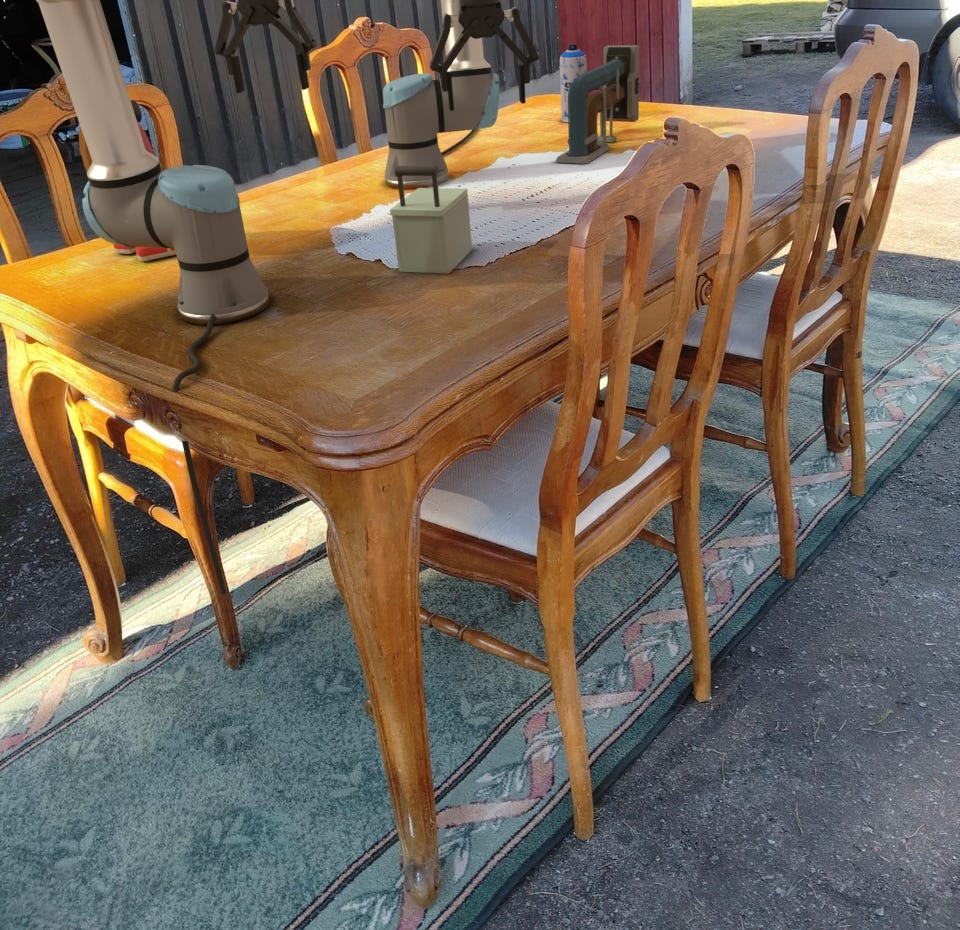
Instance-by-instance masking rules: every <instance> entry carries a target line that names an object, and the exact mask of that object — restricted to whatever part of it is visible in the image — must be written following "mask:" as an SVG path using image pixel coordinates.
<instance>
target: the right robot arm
mask: <svg viewBox="0 0 960 930" xmlns="http://www.w3.org/2000/svg"><path fill="white" fill-rule="evenodd" d="M440 8H441V20H442V28H441V31H440V34H439V36H438V40H437V43H436V46H435V48H434V50H433V54H432V56H431V60H430V62H429V69H430V70H431V71H432V72H436V73H438V74H439V78H440V79H434V77H433V76H432V74H431V73H428V72H423V73H415V74H410V75H406V76H405V75H404V76H402V77H399V78H396V79H393V80H391V81H389V82H388V83H387V84H385V86H384V87H383V89H382V96H383V97H382V99H383V100H382V101H383V104H382V108H383V109H384V116H385V125H386V135H387V142H388V155H387V160H386V166H385V169H384V170H385V171H384V183H385V185H387V187H390V188H393V189H394V188H395V189H399V187H398V179H397V176H396V175H395V167H396V166H437V167H438V175H437V182H438V185H440V184H443V183H445V182H446V181H448V180H449V178H450V176H449V175H450V174H449V169H448V166H447V163H446V160H445V159H444V155H445V154H448V153H449V152H451V151H452V150H454V149H455V148H457V147H458V146H461V144H463V143H464V142H465V141H466V140H468V139H469V138H470V137H471V136H472V135H473V134H474V133H475V132H476V131H478V130H482V129H488V128H492V127H494V125H495V124H496V123H497V119H498V115H499V105H500V77H499V74H498V73H494V72H492V65H491V64H490V63H488V61H487V60H485V58H484V45H483V38H487V39H489V38H493V37H494V36H495V35H496V36H497V37H498V38H499V39H500V40H501V41H502V42H503V43H504V44H505V46H506V47H507V49H509V50H510V51H511V52H512V53H513V55H514V56H515V57H516V58H517V59H518V60H519V61H520V64H517V77H518V99H519V102H520V103H521V104H526V102H527V101H526V85H527V84H530V82H531V71H530V70H531V67H530V66H531V64H532V63H535V62H538V61H539V59H540V56H539V54H538V51H537V49H536V47H535V45H534V43H533V42H532V40H531V38H530V36H529V34H528V32H527V31H526V28H525V27H524V25H523V23H522V21H521V14H520V9H519V8H517V7H516V6H513V7H511V8H510V9H505V10H504V9H503V7H502V0H440ZM505 18H507V20H508V22H511V23H512V25H513V26H514V28H515V30H516V32H517V33H518V36H519V38H520V39H521V42H522V43H523V45H524V47H525V49H526V51H527V54H528V55H525V53H524V52H523V51H522V50H521V49H520V48H519V47H518V45H517V44H516V43H515V42H514V41H513V40H512V39H511V37H510V36H509V35H507V33H505V31H504V30H503V29H502V28H501V25H502V23H503V22H504V20H505ZM443 52H445V58H444V59H443V61H442V63H441V64H440V61H441V59H442V56H443ZM464 131H470V132H469V133H468V134H467V135H465V137H463V138H462V139H461V140H459V141H458V142H456V143H454V144H453V145H451V146H450V147H448V148H447V149H445V150H443V151H441V149H440V146H439V140H438V134H443V133H454V132H464ZM402 179H403V187H404V190H412V189H418V188H430V187H433V183H432V176H402Z"/></svg>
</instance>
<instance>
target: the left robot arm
mask: <svg viewBox="0 0 960 930" xmlns="http://www.w3.org/2000/svg"><path fill="white" fill-rule="evenodd" d="M35 1H36V2H37V4H38V6H39V9H40V11H41V12H40V13H41V15H42V17H43V21H44V23H45V26H46V29H47V32H48V35H49V38H50V41H51V45H52V47H53V50H54V53H55V56H56V59H57V62H58V64H59V67H60V71H61V72H62V73H61V74H62V77H63V79H64V82H65V85H66V88H67V90H68V94H69V97H70V100H71V103H72V106H73V109H74V112H75V114H76V117H77V120H78V124H79V123H80V126H81V129H82V132H83V135H84V138H85V141H86V144H87V147H88V150H89V152H90V155H91V158H92V164H91V166H90V168H89V170H88V171H86V176H87V179H88V181H87V183H86V184H85V186H84V189H83V195H84V197H83V198H82V200H81V201H82V203H81V204H82V209H83V213H84V216H85V219H86V221H87V223H88V224H89V226H90V228H91V229H92V231H93V232H94V233H95V234H96V235H97V236H98V237H99V238H101V239H102V240H104V241H105V242H107V243H110V244H119V245H123V246H127V247H156V248H173V249H175V251H176V255H175V256H176V258H177V262H178V266H179V283H178V294H177V310H178V314H179V318H180V319H182V320H183V321H184V322H186V323H189V324H193V325H202V326H203V325H204V326H205V325H206V328H205V331H204V332H203V334H202V335H201V336H200V337H199V338H198V339H196V340H195V341H194V342H193V343H192V344H190V346H189V347H188V349H187V355H188V358H189V359H190V360H191V361H192V363H193V366H192V367H190V368H187V369H184V370H183V371H181V372H180V373H179V374H177V376H175V378H174V380H173V384H172V389H171V391H172V393H177V392H178V391H180V385H181V383H182V381H183V379H185V378H186V377H189V376H190V375H194V374H196V373H197V372H198V371H199V370H200V367H201V361H200V360H199V358H198V357H197V355H196V354H195V350H196V349H197V348H198V347H199V346H201V345H202V344H203V343H204V342H205V341H206V340H207V339H209V337H210V335H211V333H212V330H213V327H214V325H222V324H230V323H233V322H239V321H241V320H245V319H248V318H251V317H253V316H256V315H258V314H260V312H263V311H264V310H265V309H266V308H267V307H268V306H269V305H270V296H269V291H268V289H267V287H266V284H265V283H264V282H263V280H262V278H261V276H260V274H259V272H258V270H257V269H256V267H255V265H254V264H253V262H252V260H251V257H250V251H249V246H248V241H247V236H246V232H245V226H244V225H245V224H244V220H243V216H242V210H241V204H240V203H241V201H240V200H241V199H240V196H239V194H238V193H237V188H236V184H235V181H234V179H233V177H232V176H231V174H230V173H229V172H228V171H226V170H224V169H222V168H219V167H216V166H211V165H205V164H203V165H202V164H193V165H187V164H186V165H185V164H184V165H177V166H173V167H169V168H166V169H164V170H163V169H162V167H161V163H160V161H159V157H157V156H155V154H154V155H152V154H151V153H149V152H147V151H146V149H145V146H144V143H143V140H142V136H141V133H140V130H139V127H138V123H137V120H136V117H135V114H134V110H133V107H132V104H131V98H130V94H129V91H128V88H127V84H126V81H125V78H124V75H123V72H122V68H121V65H120V62H119V59H118V55H117V52H116V49H115V46H114V42H113V39H112V36H111V32H110V30H109V26H108V23H107V19H106V17H105V13H104V9H103V7H102V3H101V0H35ZM281 7H282V9H283V11H285V12H286V14H287V15H288V17H289V18H290V20H291V22H292V24H293V25H294V26H295V28H296V31H297V32H298V34H299V35H298V34H297V33H296V31H294V30H293V29H292V27H291V26H290V25H289V24H288V23H287V22H286V21H285V19H284V18H283V17H282V16H281V14H280V13H279V10H280V8H281ZM221 8H222V9H221V10H222V16H221V21H220V26H219V30H218V33H217V38H216V43H215V47H214V54H215V55H216V56H222V57H223V58H225V63H226V68H227V73H228V74H229V75H230V76H233V82H234V87H235V92H236V94H241V93H243V92H245V90H246V89H245V84H244V78H243V73H242V68H241V62H240V56H239V55H236V51H237V50H238V48H239V46H240V44H241V43H242V41H243V38H244V37H245V34H246V33H247V31H248V30H249V28H250V27H251V26H252V27H256V26H259V25H260V26H261V25H262V26H269V25H272V26H274V27H275V28H276V29H277V30H278V31H279V32H280V33H281V34H282V35H283V36H284V37H285V38H286V39H287V40H288V41H289V42H290V44H292V46H294V48H295V49H297V51H298V53H296V54H295V57H296V64H297V68H298V75H299V81H300V89H301V90H302V91H304V90H305V91H306V90H307V89H309V88H310V83H309V82H310V81H309V74H308V71H311V68H312V64H311V59H310V51H311V50H313V49H315V48H317V47H318V43H317V40H316V39H315V37H314V35H313V34H312V32H311V30H310V29H309V27H308V26H307V24H306V22H305V21H304V19H303V17H302V16H301V14H300V12H299V10H298V8H297V5H296V1H295V0H236V2H235V1H234V2H232V0H227V1H223V2H222V4H221ZM237 11H238V12H239V14H240V15H241V19H240V20H239V22H238V25H237V27H236V29H235V31H234V33H233V35H232V37H231V39H230V40H229V36H230V32H231V29H232V28H231V27H232V23H233V19H234V14H236V12H237ZM228 40H229V43H228ZM181 444H182V448H183V454H184V458H185V463H186V467H187V472H188V475H189V479H190V483H191V487H192V493H193V496H194V500H195V503H196V507H197V510H198V514H199V517H200V522H201V525H202V528H203V532H204V536H205V539H206V543H207V546H208V550H209V554H210V558H211V561H212V564H213V565H212V566H213V568H214V572H215V576H216V579H217V583H218V587H219V590H220V594H221V595H226V594H227V589H226V588H227V587H226V585H225V580H224V577H223V574H222V569H221V566H220V561H219V558H218V554H217V550H216V546H215V543H214V539H213V536H212V533H211V529H210V526H209V525H210V524H209V522H208V517H207V514H206V511H205V507H204V503H203V499H202V495H201V491H200V487H199V484H198V483H199V482H198V479H197V475H196V471H195V466H194V462H193V457H192V454H191V448H190V442H189V440H181Z"/></svg>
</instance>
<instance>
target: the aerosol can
mask: <svg viewBox="0 0 960 930" xmlns="http://www.w3.org/2000/svg"><path fill="white" fill-rule="evenodd" d="M586 72H588V63H587V55H586V54H585V52H584V51H583V50H581V49H579V48H578V44H577V43H574V44H568V48H567V49H566V50H565V51H563V52H562V53H561V55H560V56H559V79H560V81H559V83H560V84H559V85H560V113H561V115H560V116H561V117H560V121H561V122H563V123H568V91H569V88H570V85H571V84H572V82H573V81H574V80H575V79H576V78H577V77H578V76H579V75H581V74H584V73H586Z"/></svg>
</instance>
